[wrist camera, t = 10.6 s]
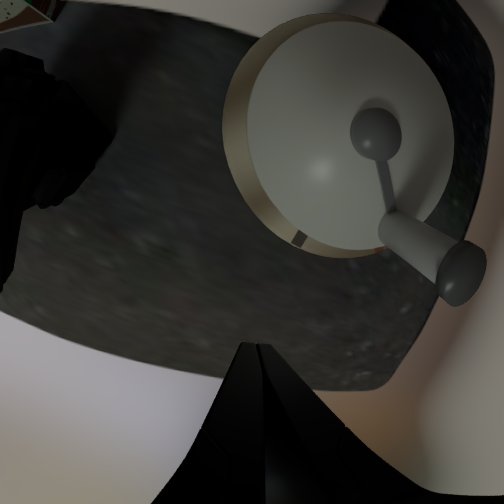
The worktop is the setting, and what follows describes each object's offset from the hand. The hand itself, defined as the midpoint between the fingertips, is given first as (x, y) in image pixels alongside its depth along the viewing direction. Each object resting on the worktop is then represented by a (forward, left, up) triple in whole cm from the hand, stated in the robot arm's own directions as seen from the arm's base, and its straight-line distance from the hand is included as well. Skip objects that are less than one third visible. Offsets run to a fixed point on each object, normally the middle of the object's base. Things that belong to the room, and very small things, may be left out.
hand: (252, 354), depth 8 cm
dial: (0, +10, -10) cm, 14 cm away
